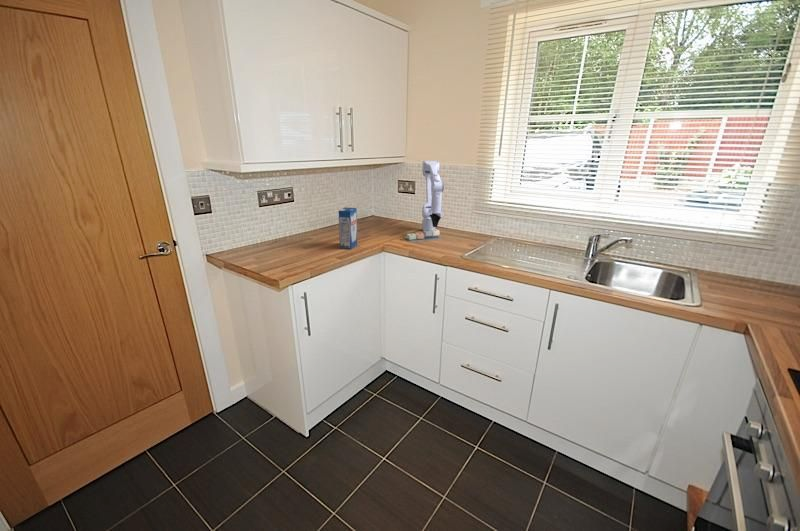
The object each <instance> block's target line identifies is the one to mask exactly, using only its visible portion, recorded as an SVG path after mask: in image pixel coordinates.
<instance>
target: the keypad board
mask: <svg viewBox="0 0 800 531" xmlns="http://www.w3.org/2000/svg"><path fill="white" fill-rule="evenodd" d="M403 238H404V239H406V240H407V241H409V242H411V243H420V242H431V241H441V240H444V238H442V237H439V235H432V236H425V235H424V239H417V238H416V239H413V240H409V239H408V238H407V236H403Z"/></svg>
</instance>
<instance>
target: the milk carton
mask: <svg viewBox="0 0 800 531" xmlns="http://www.w3.org/2000/svg"><path fill="white" fill-rule="evenodd" d="M357 210H358V209H357V207H344V208H341V209H338V228H339V229H338V232H339V249H342V250H352V249H353V247H354V248H355V247H356V246H357V245H358V221H357V220H358V218H357V217H358V215H357V214H358V213H357Z"/></svg>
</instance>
